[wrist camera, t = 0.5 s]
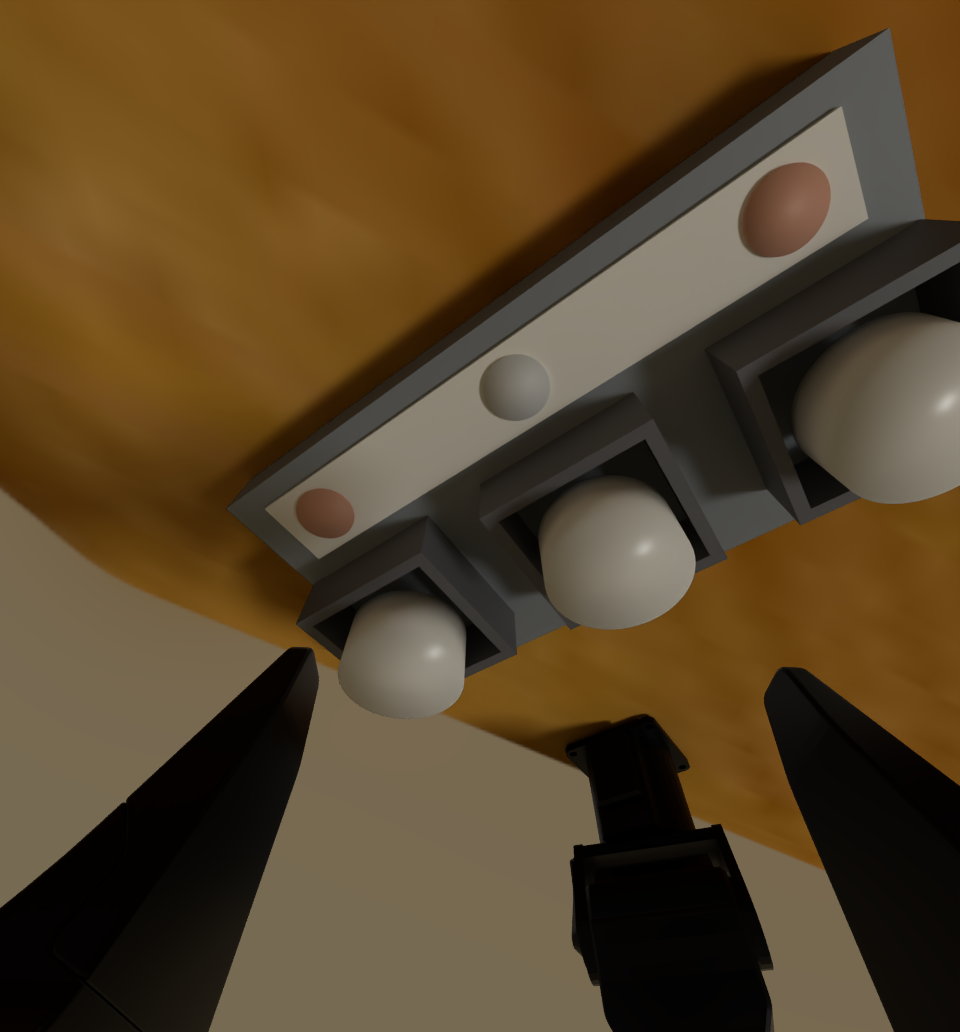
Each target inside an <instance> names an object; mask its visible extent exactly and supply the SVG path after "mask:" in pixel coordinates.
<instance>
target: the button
mask: <svg viewBox="0 0 960 1032" xmlns="http://www.w3.org/2000/svg"><path fill="white" fill-rule="evenodd" d="M790 422H791V430H792V433H793V437H794V439H795V441H796V443H797V445H798V446H799V447H800V449H801V450H802V451H803V452H804V453H805V454H807V455H808V456H809V457H810V458H811V459H813V460H814V461H815V462H816V463H817V464H819V465H820V466H821V467H822V468H824V469H825V470H826V471H827V472H828V473H830V474H831V475H832V476H833V477H835V478H836V479H837V480H838V481H839V482H841V483H842V484H843V485H844V486H846V487H847V488H848V489H849V490H850V491H852V492H853V493H855V494H856V495H858V496H859V497H862V498H864V499H867V500H869V501H873V502H878V503H886V504H901V503H910V502H915V501H920V500H924V499H927V498H931V497H934V496H937V495H939V494H942V493H945V492H947V491H949V490H951V489H953V488H955V487H958V486H960V323H959V322H956V321H952V320H948V319H945V318H941V317H937V316H934V315H930V314H926V313H919V312H901V313H894V314H889V315H886V316H882V317H878V318H876V319H873V320H871V321H868V322H866V323H864V324H862V325H860V326H858V327H856V328H854V329H852V330H851V331H849V332H848V333H846V334H844V335H843V336H842V337H840V338H839V339H838V340H836V341H835V342H834V343H832V344H831V345H830V346H829V347H828V348H827V349H826V350H825V351H824V352H823V353H822V354H821V355H820V356H819V357H818V358H817V359H816V360H815V361H814V363H813V364H812V365H811V367H810V368H809V369H808V371H807V372H806V374H805V375H804V377H803V379H802V380H801V382H800V384H799V386H798V388H797V391H796V393H795V396H794V399H793V402H792V408H791V417H790Z"/></svg>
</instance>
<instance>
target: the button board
mask: <svg viewBox="0 0 960 1032" xmlns="http://www.w3.org/2000/svg"><path fill="white" fill-rule="evenodd" d="M901 312H919V313H926V314H930V315H934V316H937V317H941V318H945V319H948V320H952V321H956V322H959V323H960V221H945V220H928V219H925V216H924V210H923V205H922V200H921V194H920V189H919V183H918V178H917V173H916V167H915V162H914V157H913V151H912V146H911V140H910V135H909V130H908V124H907V119H906V114H905V108H904V103H903V97H902V92H901V87H900V81H899V76H898V70H897V65H896V60H895V54H894V49H893V44H892V38H891V33H890V28H887V29H885V30H882V31H880V32H878V33H875V34H873V35H870V36H868V37H866V38H863V39H861V40H858V41H856V42H854V43H851V44H849V45H846V46H844V47H842V48H839V49H837V50H834V51H832V52H831V53H830V54H828V55H827V56H826V57H824V58H823V59H822V60H820V61H819V62H818V63H816V64H815V65H813V66H812V67H811V68H809V69H808V70H807V71H805V72H804V73H803V74H801V75H800V76H798V77H797V78H796V79H794V80H793V81H792V82H790V83H789V84H788V85H786V86H785V87H784V88H782V89H781V90H779V91H778V92H777V93H775V94H774V95H773V96H771V97H770V98H769V99H767V100H766V101H765V102H763V103H762V104H760V105H759V106H758V107H756V108H755V109H754V110H752V111H751V112H750V113H748V114H747V115H746V116H744V117H743V118H741V119H740V120H739V121H737V122H736V123H735V124H733V125H732V126H731V127H729V128H728V129H726V130H725V131H724V132H722V133H721V134H720V135H718V136H717V137H716V138H714V139H713V140H712V141H710V142H709V143H707V144H706V145H705V146H703V147H702V148H701V149H699V150H698V151H697V152H695V153H694V154H693V155H691V156H690V157H688V158H687V159H686V160H684V161H683V162H682V163H680V164H679V165H678V166H676V167H675V168H674V169H672V170H671V171H669V172H668V173H667V174H665V175H664V176H663V177H661V178H660V179H659V180H657V181H656V182H655V183H653V184H652V185H650V186H649V187H648V188H646V189H645V190H644V191H642V192H641V193H640V194H638V195H637V196H635V197H634V198H633V199H631V200H630V201H629V202H627V203H626V204H625V205H623V206H622V207H621V208H619V209H618V210H616V211H615V212H614V213H612V214H611V215H610V216H608V217H607V218H606V219H604V220H603V221H602V222H600V223H599V224H597V225H596V226H595V227H593V228H592V229H591V230H589V231H588V232H587V233H585V234H584V235H583V236H581V237H580V238H578V239H577V240H576V241H574V242H573V243H572V244H570V245H569V246H568V247H566V248H565V249H563V250H562V251H561V252H559V253H558V254H557V255H555V256H554V257H553V258H551V259H550V260H549V261H547V262H546V263H544V264H543V265H542V266H540V267H539V268H538V269H536V270H535V271H534V272H532V273H531V274H530V275H528V276H527V277H525V278H524V279H523V280H521V281H520V282H519V283H517V284H516V285H515V286H513V287H512V288H511V289H509V290H508V291H506V292H505V293H504V294H502V295H501V296H500V297H498V298H497V299H496V300H494V301H493V302H492V303H490V304H489V305H487V306H486V307H485V308H483V309H482V310H481V311H479V312H478V313H477V314H475V315H474V316H472V317H471V318H470V319H468V320H467V321H466V322H464V323H463V324H462V325H460V326H459V327H458V328H456V329H455V330H453V331H452V332H451V333H449V334H448V335H447V336H445V337H444V338H443V339H441V340H440V341H439V342H437V343H436V344H434V345H433V346H432V347H430V348H429V349H428V350H426V351H425V352H424V353H422V354H421V355H420V356H418V357H417V358H415V359H414V360H413V361H411V362H410V363H409V364H407V365H406V366H405V367H403V368H402V369H400V370H399V371H398V372H396V373H395V374H394V375H392V376H391V377H390V378H388V379H387V380H386V381H384V382H383V383H381V384H380V385H379V386H377V387H376V388H375V389H373V390H372V391H371V392H369V393H368V394H367V395H365V396H364V397H362V398H361V399H360V400H358V401H357V402H356V403H354V404H353V405H352V406H350V407H349V408H348V409H346V410H345V411H343V412H342V413H341V414H339V415H338V416H337V417H335V418H334V419H333V420H331V421H330V422H328V423H327V424H326V425H324V426H323V427H322V428H320V429H319V430H318V431H316V432H315V433H314V434H312V435H311V436H309V437H308V438H307V439H305V440H304V441H303V442H301V443H300V444H299V445H297V446H296V447H295V448H293V449H292V450H290V451H289V452H288V453H286V454H285V455H284V456H282V457H281V458H280V459H278V460H277V461H276V462H274V463H273V464H271V465H270V466H269V467H267V468H266V469H265V470H263V471H262V472H261V473H259V474H258V475H257V476H255V477H254V478H252V479H251V480H250V481H249V482H248V483H247V484H246V486H245V487H244V488H243V489H242V490H241V492H240V493H239V494H238V495H237V496H236V498H235V499H234V500H233V501H232V502H231V504H230V505H229V506H228V507H227V508H226V509H227V510H228V511H229V512H230V513H231V514H233V515H234V516H235V517H236V518H237V519H238V520H239V521H241V522H242V523H243V524H244V525H245V526H246V527H247V528H248V529H250V530H251V531H252V532H253V533H254V534H255V535H256V536H258V537H259V538H260V539H261V540H262V541H263V542H264V543H265V544H267V545H268V546H269V547H270V548H271V549H272V550H273V551H275V552H276V553H277V554H278V555H279V556H280V557H281V558H283V559H284V560H285V561H286V562H287V563H288V564H289V565H290V566H292V567H293V568H294V569H295V570H296V571H297V572H298V573H300V574H301V575H302V576H303V577H304V578H305V579H306V580H307V581H309V582H310V583H311V584H312V585H313V587H312V589H311V591H310V594H309V596H308V598H307V600H306V603H305V605H304V607H303V609H302V612H301V614H300V616H299V618H298V621H297V623H296V625H298V626H299V627H300V628H301V629H303V630H304V631H305V632H306V633H307V634H309V635H310V636H311V637H312V638H314V639H315V640H316V641H317V642H318V643H320V644H321V645H322V646H323V647H325V648H326V649H327V650H328V651H329V652H331V653H332V654H333V655H334V656H336V657H337V658H338V659H339V660H341V657H342V654H343V651H344V648H345V644H346V641H347V638H348V635H349V632H350V629H351V626H352V622H353V619H354V616H355V614H356V612H357V611H358V609H359V608H360V607H361V606H362V605H363V604H364V603H365V602H366V601H368V600H369V599H371V598H373V597H375V596H377V595H380V594H383V593H386V592H391V591H399V590H410V591H418V592H423V593H426V594H430V595H433V596H435V597H437V598H439V599H441V600H443V601H445V602H446V603H448V604H449V605H450V606H452V607H453V608H454V609H455V610H456V611H457V612H458V614H459V615H460V616H461V618H462V620H463V622H464V624H465V628H466V654H465V675H464V678H466V677H468V676H470V675H472V674H474V673H477V672H479V671H481V670H483V669H485V668H488V667H490V666H492V665H494V664H496V663H499V662H501V661H503V660H505V659H507V658H510V657H512V656H514V655H516V654H517V647H518V646H520V645H523V644H525V643H527V642H529V641H531V640H534V639H536V638H538V637H540V636H542V635H544V634H547V633H549V632H551V631H553V630H555V629H557V628H560V627H562V626H564V625H567V626H568V627H569V628H570V629H573V628H576V627H578V626H580V624H578V623H575V622H573V621H571V620H570V619H568V618H566V617H565V616H563V615H562V614H561V613H560V612H559V611H558V610H557V609H556V608H555V607H554V606H553V604H552V603H551V602H550V600H549V598H548V596H547V593H546V589H545V584H544V577H543V570H542V563H541V556H540V549H539V541H538V530H539V526H540V522H541V520H542V517H543V515H544V513H545V511H546V509H547V508H548V507H549V505H550V504H551V503H552V502H553V501H554V500H555V499H556V498H557V497H558V496H559V495H560V494H561V493H562V492H564V491H565V490H567V489H568V488H570V487H571V486H573V485H575V484H577V483H579V482H582V481H585V480H587V479H591V478H595V477H599V476H607V475H619V476H627V477H632V478H636V479H638V480H641V481H643V482H645V483H647V484H649V485H651V486H652V487H653V488H655V489H656V490H657V491H658V492H659V493H660V494H661V495H662V496H663V497H664V499H665V500H666V502H667V504H668V505H669V507H670V509H671V510H672V512H673V514H674V516H675V517H676V519H677V521H678V523H679V524H680V526H681V528H682V529H683V531H684V533H685V535H686V536H687V538H688V540H689V541H690V543H691V546H692V548H693V550H694V554H695V562H696V566H695V573H697V572H699V571H701V570H703V569H705V568H708V567H710V566H712V565H714V564H716V563H719V562H721V561H723V560H725V559H727V556H726V554H725V551H727V550H729V549H731V548H734V547H736V546H738V545H740V544H742V543H744V542H747V541H749V540H751V539H753V538H755V537H757V536H760V535H762V534H764V533H766V532H768V531H770V530H773V529H775V528H777V527H779V526H781V525H784V524H786V523H788V522H790V521H792V520H794V519H795V520H796V521H797V522H798V523H799V524H800V525H802V524H804V523H806V522H809V521H811V520H813V519H815V518H817V517H820V516H822V515H824V514H826V513H828V512H831V511H833V510H835V509H837V508H839V507H842V506H844V505H846V504H848V503H850V502H853V501H855V500H857V499H859V498H861V497H859V496H858V495H856V494H855V493H853V492H852V491H850V490H849V489H848V488H847V487H846V486H844V485H843V484H842V483H841V482H839V481H838V480H837V479H836V478H835V477H833V476H832V475H831V474H830V473H828V472H827V471H826V470H825V469H824V468H822V467H821V466H820V465H819V464H817V463H816V462H815V461H814V460H813V459H811V458H810V457H809V456H808V455H807V454H805V453H804V452H803V451H802V450H801V449H800V447H799V446H798V445H797V443H796V441H795V439H794V437H793V433H792V430H791V422H790V417H791V408H792V402H793V399H794V396H795V393H796V391H797V388H798V386H799V384H800V382H801V380H802V379H803V377H804V375H805V374H806V372H807V371H808V369H809V368H810V367H811V365H812V364H813V363H814V361H815V360H816V359H817V358H818V357H819V356H820V355H821V354H822V353H823V352H824V351H825V350H826V349H827V348H828V347H829V346H830V345H831V344H832V343H834V342H835V341H836V340H838V339H839V338H840V337H842V336H843V335H844V334H846V333H848V332H849V331H851V330H852V329H854V328H856V327H858V326H860V325H862V324H864V323H866V322H868V321H871V320H873V319H876V318H878V317H882V316H886V315H889V314H894V313H901Z"/></svg>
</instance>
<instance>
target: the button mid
mask: <svg viewBox="0 0 960 1032" xmlns="http://www.w3.org/2000/svg"><path fill="white" fill-rule="evenodd" d="M538 541H539V549H540V556H541V563H542V570H543V577H544V584H545V589H546V593H547V596H548V598H549V600H550V602H551V603H552V604H553V606H554V607H555V608H556V609H557V610H558V611H559V612H560V613H561V614H562V615H563V616H565V617H566V618H568V619H570V620H571V621H573V622H575V623H578V624H580V625H583V626H587V627H591V628H596V629H623V628H629V627H633V626H637V625H641V624H643V623H646V622H649V621H651V620H653V619H655V618H657V617H659V616H661V615H662V614H664V613H665V612H667V611H668V610H670V609H671V608H672V607H673V606H674V605H675V604H677V603H678V602H679V601H680V599H681V598H682V597H683V596H684V595H685V593H686V592H687V590H688V588H689V587H690V585H691V582H692V580H693V577H694V573H695V566H696V562H695V554H694V550H693V548H692V546H691V543H690V541H689V540H688V538H687V536H686V535H685V533H684V531H683V529H682V528H681V526H680V524H679V523H678V521H677V519H676V517H675V516H674V514H673V512H672V510H671V509H670V507H669V505H668V504H667V502H666V500H665V499H664V497H663V496H662V495H661V494H660V493H659V492H658V491H657V490H656V489H655V488H653V487H652V486H651V485H649V484H647V483H645V482H643V481H641V480H638V479H636V478H632V477H627V476H619V475H607V476H599V477H595V478H591V479H587V480H585V481H582V482H579V483H577V484H575V485H573V486H571V487H570V488H568V489H567V490H565V491H564V492H562V493H561V494H560V495H559V496H558V497H557V498H556V499H555V500H554V501H553V502H552V503H551V504H550V505H549V507H548V508H547V509H546V511H545V513H544V515H543V517H542V520H541V522H540V526H539V530H538Z"/></svg>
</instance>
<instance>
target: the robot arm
mask: <svg viewBox="0 0 960 1032" xmlns="http://www.w3.org/2000/svg"><path fill="white" fill-rule="evenodd" d="M318 685H319V675H318V670H317V665H316V660H315V655H314V651H313V650H312V649H311V648H307V647H292V648H289V649H288V650H287V651H285V652H284V653H283V654H282V655H281V656H280V657H279V658H278V659H277V660H276V661H275V662H274V663H273V664H271V665H270V666H269V667H268V668H267V669H266V670H265V671H264V672H263V673H262V674H261V675H260V676H259V677H257V678H256V679H255V680H254V681H253V682H252V683H251V684H250V685H249V686H248V687H247V688H246V689H244V690H243V691H242V692H241V693H240V694H239V695H238V696H237V697H236V698H235V699H234V700H233V701H232V702H230V703H229V704H228V705H227V706H226V707H225V708H224V709H223V710H222V711H221V712H220V713H219V714H218V715H217V716H215V717H214V718H213V719H212V720H211V721H210V722H209V723H208V724H207V725H206V726H205V727H203V728H202V729H201V730H200V731H199V732H198V733H197V734H196V735H195V736H194V737H193V738H192V739H191V740H190V741H188V742H187V743H186V744H185V745H184V746H183V747H182V748H181V749H180V750H179V751H178V752H177V753H176V754H174V755H173V756H172V757H171V758H170V759H169V760H168V761H167V762H166V763H165V764H164V765H163V766H161V767H160V768H159V769H158V770H157V771H156V772H155V773H154V774H153V775H152V776H151V777H150V778H148V779H147V780H146V781H145V782H144V783H143V784H142V785H141V786H140V787H139V788H138V789H137V790H136V791H134V792H133V793H132V794H131V795H130V796H129V797H128V798H127V800H126V803H121V804H120V805H119V806H118V807H117V808H116V809H115V810H114V811H113V812H112V813H110V815H108V816H107V817H106V818H105V819H104V820H103V821H102V822H101V823H100V824H99V825H97V826H96V827H95V828H94V829H93V830H92V831H91V832H90V833H89V834H87V835H86V836H85V837H84V838H83V839H82V840H81V841H80V842H78V843H77V845H75V846H74V847H73V848H72V849H71V850H70V851H68V852H67V853H66V854H65V855H64V856H63V857H61V858H60V859H59V860H58V861H57V862H56V863H54V864H53V865H52V866H51V867H49V868H48V869H47V870H46V871H45V872H43V873H42V874H41V875H40V876H39V877H38V878H36V879H35V880H34V881H33V882H32V883H30V884H29V885H28V886H27V887H26V888H25V889H23V890H22V891H21V892H19V893H18V894H17V895H16V896H15V897H13V898H12V899H11V900H10V901H8V902H7V903H6V904H5V905H3V907H1V908H0V1032H208V1031H209V1028H210V1025H211V1023H212V1020H213V1016H214V1014H215V1011H216V1008H217V1005H218V1002H219V999H220V997H221V994H222V991H223V988H224V985H225V982H226V979H227V976H228V973H229V970H230V967H231V965H232V962H233V959H234V956H235V953H236V950H237V947H238V945H239V942H240V939H241V936H242V933H243V930H244V927H245V924H246V921H247V918H248V916H249V913H250V910H251V907H252V904H253V901H254V898H255V895H256V892H257V890H258V887H259V884H260V881H261V878H262V875H263V872H264V869H265V866H266V864H267V860H268V858H269V855H270V852H271V849H272V846H273V843H274V841H275V838H276V835H277V832H278V829H279V826H280V823H281V820H282V817H283V815H284V812H285V809H286V806H287V803H288V800H289V797H290V794H291V791H292V789H293V786H294V783H295V780H296V777H297V774H298V771H299V767H300V764H301V760H302V755H303V752H304V747H305V743H306V738H307V734H308V730H309V725H310V721H311V717H312V712H313V708H314V704H315V699H316V694H317V690H318ZM764 705H765V709H766V712H767V715H768V718H769V722H770V725H771V728H772V731H773V734H774V738H775V741H776V744H777V747H778V751H779V754H780V757H781V760H782V763H783V767H784V770H785V773H786V776H787V779H788V781H789V784H790V787H791V789H792V792H793V794H794V797H795V799H796V802H797V804H798V806H799V809H800V811H801V814H802V816H803V818H804V821H805V823H806V825H807V828H808V830H809V832H810V835H811V837H812V840H813V842H814V844H815V847H816V849H817V851H818V854H819V856H820V858H821V861H822V863H823V865H824V868H825V870H826V873H827V875H828V877H829V880H830V882H831V884H832V887H833V889H834V891H835V894H836V896H837V898H838V901H839V903H840V905H841V908H842V910H843V913H844V915H845V917H846V920H847V922H848V924H849V927H850V929H851V931H852V933H853V936H854V939H855V941H856V943H857V946H858V948H859V950H860V953H861V955H862V957H863V960H864V962H865V964H866V967H867V969H868V972H869V974H870V976H871V979H872V981H873V983H874V986H875V988H876V990H877V993H878V995H879V997H880V1000H881V1002H882V1004H883V1007H884V1009H885V1012H886V1014H887V1016H888V1019H889V1021H890V1023H891V1026H892V1028H893V1030H894V1032H960V786H959V785H958V784H956V783H955V782H954V781H952V780H951V779H950V778H948V777H947V776H946V775H945V774H943V773H942V772H941V771H939V770H938V769H937V768H935V767H934V766H933V765H931V764H930V763H929V762H927V761H926V760H925V759H923V758H922V757H921V756H919V755H918V754H917V753H915V752H914V751H913V750H911V749H910V748H909V747H908V746H906V745H905V744H904V743H902V742H901V741H900V740H898V739H897V738H896V737H894V736H893V735H892V734H890V733H889V732H888V731H886V730H885V729H884V728H882V727H881V726H880V725H878V724H877V723H876V722H874V721H873V720H872V719H870V718H869V717H868V716H867V715H865V714H864V713H863V712H861V711H860V710H859V709H857V708H856V707H855V706H853V705H852V704H851V703H849V702H848V701H847V700H845V699H844V698H843V697H841V696H840V695H839V694H837V693H836V692H835V691H833V690H832V689H831V688H830V687H828V686H827V685H826V684H824V683H823V682H822V681H820V680H819V679H818V678H816V677H815V676H814V675H812V674H811V673H810V672H808V671H807V670H805V669H803V668H797V667H781V668H780V669H778V670H777V672H776V673H775V675H774V677H773V679H772V681H771V683H770V685H769V687H768V688H767V690H766V692H765V696H764ZM565 750H566V756H567V757H568V758H569V759H570V760H571V761H572V762H573V763H574V764H575V765H576V766H577V767H578V768H579V769H580V770H581V771H582V772H583V773H584V774H585V775H586V776H588V777H589V781H590V787H591V793H592V798H593V804H594V809H595V816H596V821H597V828H598V833H599V839H600V844H593V845H586V846H583V845H582V844H581V845H574V858H573V859H572V860H571V861H570V866H571V875H572V884H573V917H572V941H573V946H574V949H575V950H577V952H578V953H579V954H581V956H582V957H583V960H584V963H585V966H586V968H587V971H588V974H589V977H590V980H591V982H592V984H593V985H594V986H600V990H601V996H602V1002H603V1008H604V1013H605V1017H606V1019H607V1022H608V1024H609V1026H610V1028H611V1029H612V1031H613V1032H774V1025H773V1012H772V1004H771V999H770V996H769V993H768V990H767V987H766V984H765V981H764V978H763V976H762V972H761V971H766V970H773V963H772V960H771V956H770V952H769V949H768V946H767V943H766V939H765V936H764V933H763V930H762V928H761V924H760V922H759V919H758V916H757V913H756V910H755V908H754V905H753V903H752V900H751V898H750V895H749V892H748V890H747V887H746V885H745V882H744V880H743V877H742V875H741V872H740V870H739V868H738V865H737V863H736V860H735V858H734V855H733V853H732V851H731V848H730V845H729V843H728V841H727V838H726V836H725V833H724V831H723V828H722V826H721V824H716V825H711V827H708V828H702V829H695V826H694V823H693V820H692V817H691V814H690V811H689V808H688V805H687V802H686V798H685V795H684V792H683V789H682V786H681V783H680V780H679V777H678V774H677V773H680V772H683V771H686V770H688V769H689V767H690V765H689V763H688V760H687V758H686V757H685V756H684V755H683V753H682V752H681V751H680V750H679V749H678V747H677V746H676V745H675V744H674V742H673V741H672V740H671V739H670V737H669V736H668V735H667V734H666V732H665V731H664V730H663V729H662V727H661V726H660V725H659V724H658V723H657V721H656V720H655V719H654V718H653V717H644V718H641V719H638V720H636V721H633V722H630V723H627V724H625V725H622V726H619V727H617V728H614V729H611V730H609V731H606V732H603V733H600V734H598V735H595V736H592V737H590V738H587V739H584V740H582V741H579V742H576V743H574V744H571V745H568V746H567V747H566V749H565Z"/></svg>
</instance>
